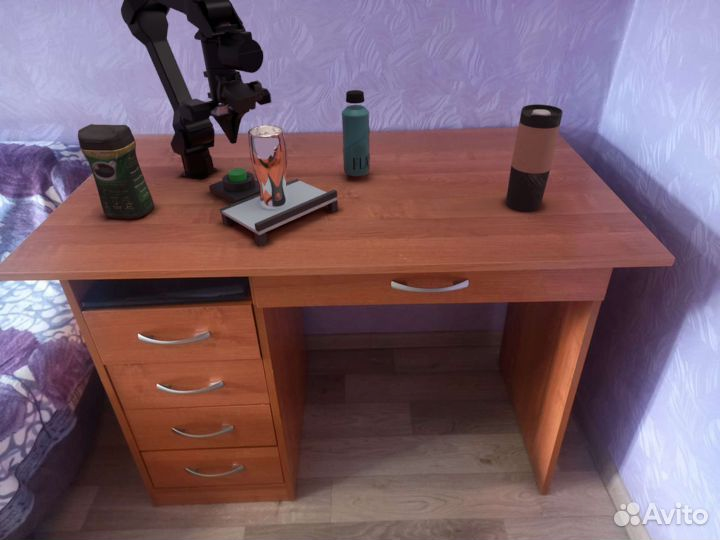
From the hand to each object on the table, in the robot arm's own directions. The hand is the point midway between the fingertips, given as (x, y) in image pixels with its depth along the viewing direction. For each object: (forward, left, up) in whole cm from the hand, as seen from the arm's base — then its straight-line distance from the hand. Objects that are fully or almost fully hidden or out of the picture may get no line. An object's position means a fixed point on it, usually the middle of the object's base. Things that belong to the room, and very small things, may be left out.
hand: (233, 143), depth 102 cm
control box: (0, -1, -11) cm, 11 cm away
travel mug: (+61, +13, -12) cm, 64 cm away
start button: (0, -1, -8) cm, 8 cm away
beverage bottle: (+22, +16, -12) cm, 30 cm away
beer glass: (+13, -9, -8) cm, 18 cm away
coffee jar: (-18, -16, -12) cm, 27 cm away
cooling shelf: (+14, -8, -11) cm, 20 cm away
